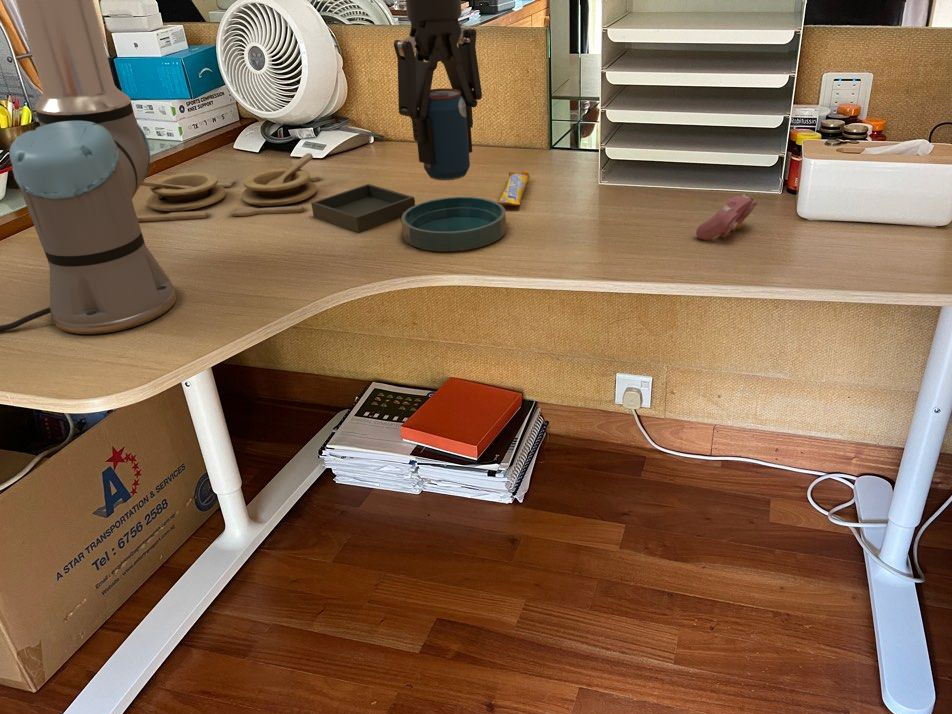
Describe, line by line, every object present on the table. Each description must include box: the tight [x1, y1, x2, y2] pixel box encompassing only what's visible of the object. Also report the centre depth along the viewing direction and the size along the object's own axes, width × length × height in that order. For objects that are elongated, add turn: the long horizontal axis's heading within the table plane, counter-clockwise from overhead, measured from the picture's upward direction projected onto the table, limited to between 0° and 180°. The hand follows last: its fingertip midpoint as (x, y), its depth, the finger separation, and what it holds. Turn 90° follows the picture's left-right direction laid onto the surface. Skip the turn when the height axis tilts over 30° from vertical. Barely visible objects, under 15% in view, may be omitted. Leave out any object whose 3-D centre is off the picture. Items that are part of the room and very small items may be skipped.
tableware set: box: [137, 152, 320, 223], centre depth 149 cm, size 30×20×6 cm, turn 94°
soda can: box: [418, 87, 471, 181], centre depth 124 cm, size 7×7×12 cm
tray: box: [310, 183, 416, 233], centre depth 141 cm, size 12×12×2 cm
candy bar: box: [496, 171, 531, 207], centre depth 147 cm, size 17×4×2 cm, turn 174°
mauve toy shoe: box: [695, 193, 758, 240], centre depth 127 cm, size 10×5×7 cm, turn 143°
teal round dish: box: [400, 196, 508, 252], centre depth 132 cm, size 16×16×3 cm
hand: (446, 156), depth 126 cm, fingers closed on soda can, 7 cm apart
